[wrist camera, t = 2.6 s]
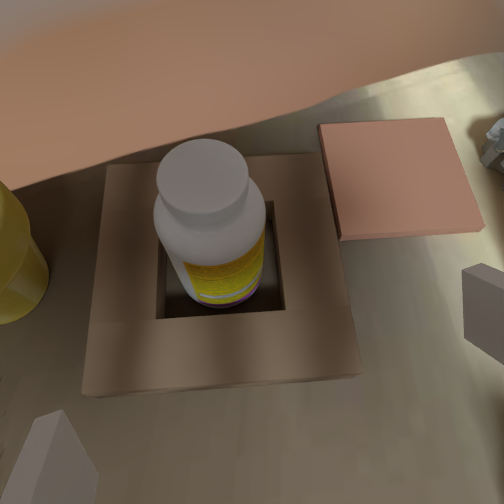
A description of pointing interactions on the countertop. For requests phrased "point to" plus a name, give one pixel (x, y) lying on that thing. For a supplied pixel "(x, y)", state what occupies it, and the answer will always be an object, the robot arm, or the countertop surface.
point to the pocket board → (228, 325)
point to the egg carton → (499, 138)
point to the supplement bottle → (211, 221)
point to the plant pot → (18, 261)
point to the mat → (397, 180)
